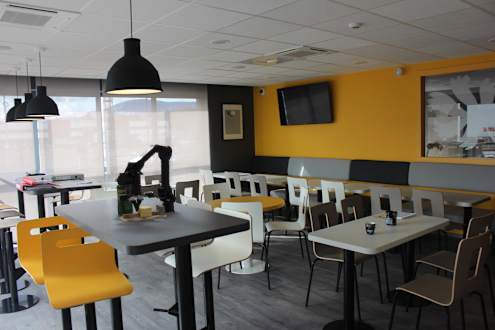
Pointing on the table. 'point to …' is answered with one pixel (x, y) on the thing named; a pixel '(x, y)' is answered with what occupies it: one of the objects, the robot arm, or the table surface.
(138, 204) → the robot arm
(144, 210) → the block
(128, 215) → the track
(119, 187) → the coffee jar
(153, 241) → the table surface
